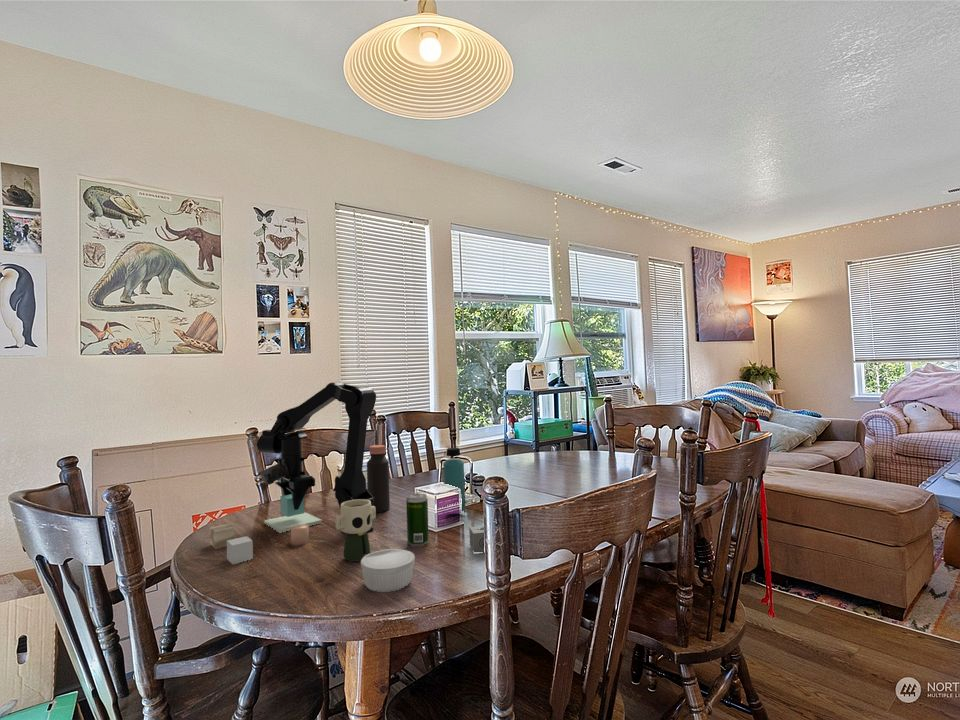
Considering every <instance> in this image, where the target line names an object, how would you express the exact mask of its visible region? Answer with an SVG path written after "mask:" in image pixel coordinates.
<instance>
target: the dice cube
mask: <svg viewBox="0 0 960 720" xmlns="http://www.w3.org/2000/svg"><path fill="white" fill-rule="evenodd" d="M484 526H485V525H479V526H478V525H477V526H469V527H468V529H469V547H470V546H471V548H472V550H473V551H474V552H483V553H482V554H485V553H484ZM471 548H470V549H471ZM472 550H471V551H472Z"/></svg>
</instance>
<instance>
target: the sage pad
mask: <svg viewBox="0 0 960 720" xmlns="http://www.w3.org/2000/svg"><path fill="white" fill-rule="evenodd" d="M263 521H264V523H265V524H267V525H268V526H267V525H266V526H267V527H269V526H270V527H271V528H270V527H269V528H270V529H272V528H273V529H272V530H274V531H275V530H276V531H275V532H277V533H278V534H282V532H283V533H287V532H286V531H288V532H291V531H290V530H291V527H292V526H295V525H300V524H306V525H308V526H309V527H311V526H312V525H313V526H315V525H316V524H317V525H320V524H322V521H323V520H322V519H320V518H319V517H316V516H314V515H312V514H310V513H308V512H306V511H305V513H303V514H298V515H294V516H289V517H287V516H285V515H283V516H278V517H274V518H269V519H265V520H263ZM264 523H263V524H264ZM265 524H264V525H265ZM317 525H316V526H317Z"/></svg>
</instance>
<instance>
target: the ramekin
mask: <svg viewBox="0 0 960 720" xmlns="http://www.w3.org/2000/svg"><path fill="white" fill-rule="evenodd" d="M415 562H416V556H415V554H414V553H413V552H412V551H410V550H406V549H401V548H400V549H397V548H396V549H395V548H391V549H381V550H377V551H373V552H370V554H368V555H366V554H365V555H364V556H363V558H362V560H360V568H361V569H362V576H363V582H364V584H365V587H366V588H367V589H369V590H370V591H372V590H373V591H372V592H375V591H377V592H378V593H392V592H391V591H393V592H396V591H395V590H397V591H400V590H402V589H404V588H406V587H407V586H409V584H410V583H411V582H412V580H413V574H414V564H415ZM405 586H406V587H405ZM401 588H402V589H401ZM399 589H400V590H399ZM377 592H376V593H377Z"/></svg>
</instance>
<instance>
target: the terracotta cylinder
mask: <svg viewBox="0 0 960 720" xmlns="http://www.w3.org/2000/svg"><path fill="white" fill-rule="evenodd" d="M309 527H310V526H308V525H306V524H300V525H295V526H292V527H291V531H290V544H291V546H302V544H303V545H306V544H308V543H309V542H310V537H309V536H310V533H309V532H310V531H309ZM307 542H308V543H307ZM305 543H306V544H305Z"/></svg>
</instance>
